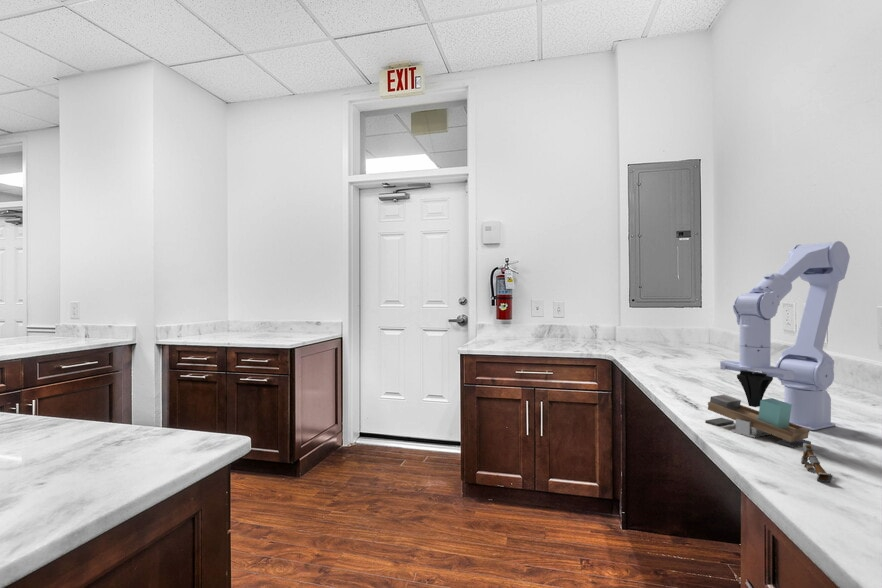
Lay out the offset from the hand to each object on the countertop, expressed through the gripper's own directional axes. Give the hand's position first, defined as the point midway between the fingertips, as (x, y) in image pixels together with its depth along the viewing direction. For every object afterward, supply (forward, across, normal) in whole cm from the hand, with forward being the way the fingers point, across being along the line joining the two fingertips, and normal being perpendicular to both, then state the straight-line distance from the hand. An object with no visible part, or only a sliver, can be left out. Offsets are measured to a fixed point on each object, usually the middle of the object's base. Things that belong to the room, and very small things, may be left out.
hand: (754, 406), depth 100 cm
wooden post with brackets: (+6, +18, -14) cm, 24 cm away
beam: (+4, 0, 0) cm, 4 cm away
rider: (+3, +4, 0) cm, 5 cm away
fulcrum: (+6, 0, 0) cm, 6 cm away
